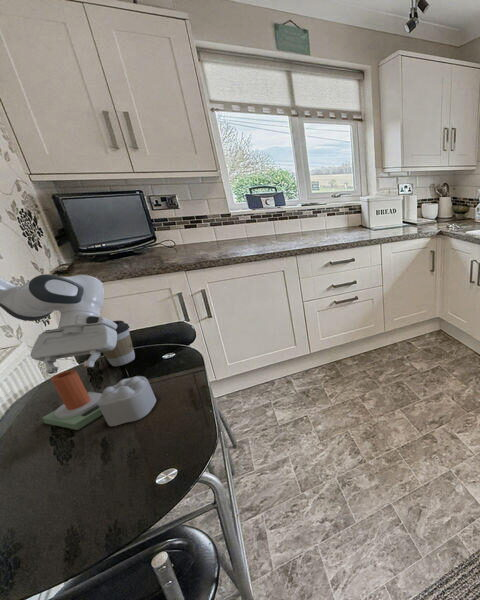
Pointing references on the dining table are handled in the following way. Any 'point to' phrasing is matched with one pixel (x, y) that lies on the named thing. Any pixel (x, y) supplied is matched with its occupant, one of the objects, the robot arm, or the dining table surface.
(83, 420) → the scale
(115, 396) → the lumpy-topped squat cylinder
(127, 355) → the coffee cup
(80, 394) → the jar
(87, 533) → the dining table surface
